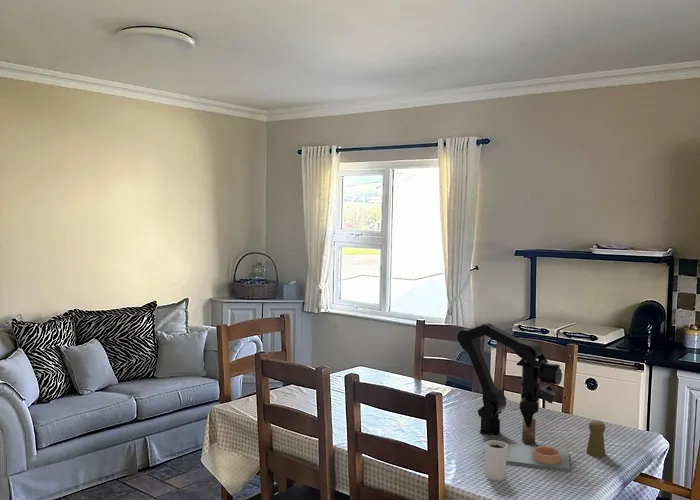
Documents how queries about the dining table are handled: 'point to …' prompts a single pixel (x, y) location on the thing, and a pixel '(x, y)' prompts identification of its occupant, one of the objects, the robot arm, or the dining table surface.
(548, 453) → the terracotta ring
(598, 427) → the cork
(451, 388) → the dining table surface
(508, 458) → the slate board
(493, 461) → the white cup
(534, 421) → the walnut cylinder
